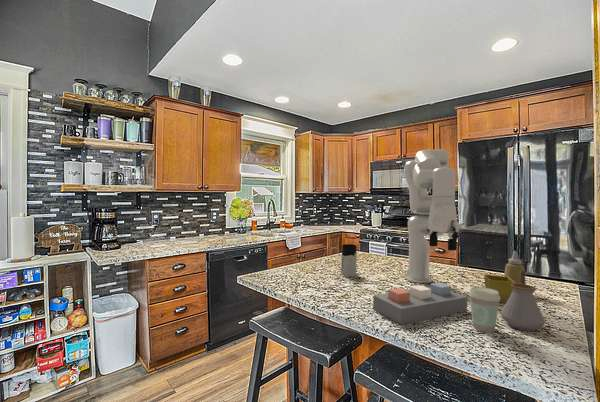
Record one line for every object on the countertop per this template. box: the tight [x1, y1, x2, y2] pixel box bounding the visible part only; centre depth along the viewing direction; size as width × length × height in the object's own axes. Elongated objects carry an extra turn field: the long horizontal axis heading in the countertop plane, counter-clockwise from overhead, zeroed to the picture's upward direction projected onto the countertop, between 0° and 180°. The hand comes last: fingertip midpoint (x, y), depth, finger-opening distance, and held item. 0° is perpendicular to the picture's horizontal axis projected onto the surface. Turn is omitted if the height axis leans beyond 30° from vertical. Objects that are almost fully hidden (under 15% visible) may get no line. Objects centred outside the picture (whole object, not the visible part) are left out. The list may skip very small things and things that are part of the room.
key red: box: [388, 287, 410, 303], centre depth 104 cm, size 5×5×5 cm
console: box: [372, 286, 468, 325], centre depth 108 cm, size 14×31×5 cm, turn 114°
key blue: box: [429, 282, 452, 296], centre depth 112 cm, size 5×5×5 cm
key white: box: [409, 284, 431, 300], centre depth 108 cm, size 5×5×5 cm
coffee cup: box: [468, 286, 501, 333], centre depth 94 cm, size 8×8×12 cm
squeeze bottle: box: [503, 250, 527, 285], centre depth 131 cm, size 8×8×18 cm
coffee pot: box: [500, 270, 546, 332], centre depth 100 cm, size 21×12×15 cm, turn 143°
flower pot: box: [483, 274, 515, 303], centre depth 120 cm, size 9×9×9 cm
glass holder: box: [329, 243, 358, 277], centre depth 157 cm, size 9×14×15 cm, turn 89°
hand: (442, 248), depth 110 cm, fingers open, 9 cm apart
